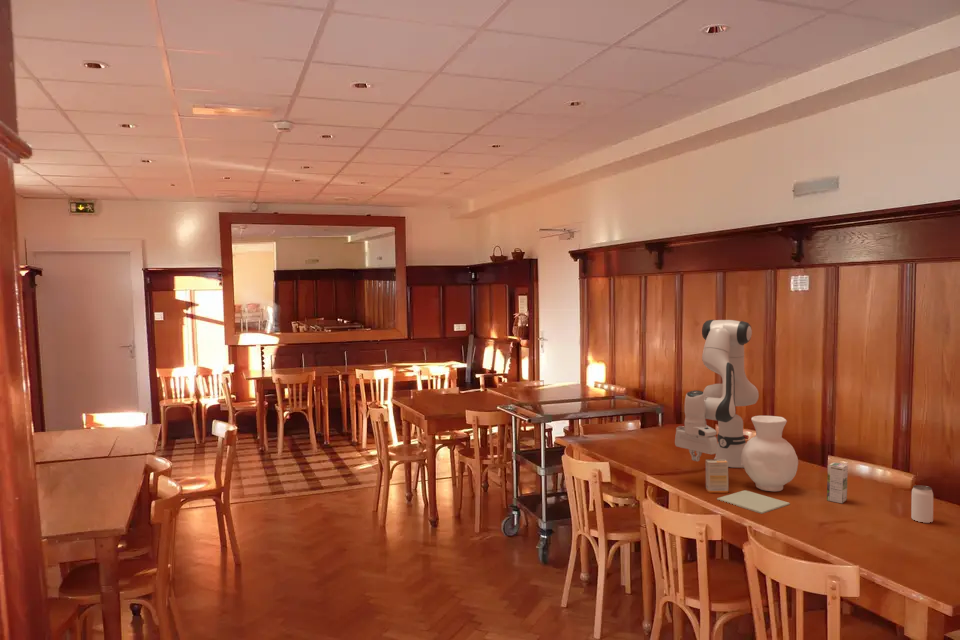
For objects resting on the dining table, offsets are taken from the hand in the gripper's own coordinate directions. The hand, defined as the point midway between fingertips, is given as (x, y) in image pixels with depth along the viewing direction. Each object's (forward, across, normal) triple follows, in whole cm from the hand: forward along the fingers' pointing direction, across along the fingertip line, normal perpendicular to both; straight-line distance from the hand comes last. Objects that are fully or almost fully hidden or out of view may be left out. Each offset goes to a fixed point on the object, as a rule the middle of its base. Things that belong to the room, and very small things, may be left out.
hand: (695, 460), depth 280 cm
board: (+11, +28, 0) cm, 30 cm away
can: (+12, +75, +31) cm, 82 cm away
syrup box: (+11, +46, +28) cm, 55 cm away
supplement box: (+11, +11, 0) cm, 15 cm away
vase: (+11, +21, +21) cm, 32 cm away
